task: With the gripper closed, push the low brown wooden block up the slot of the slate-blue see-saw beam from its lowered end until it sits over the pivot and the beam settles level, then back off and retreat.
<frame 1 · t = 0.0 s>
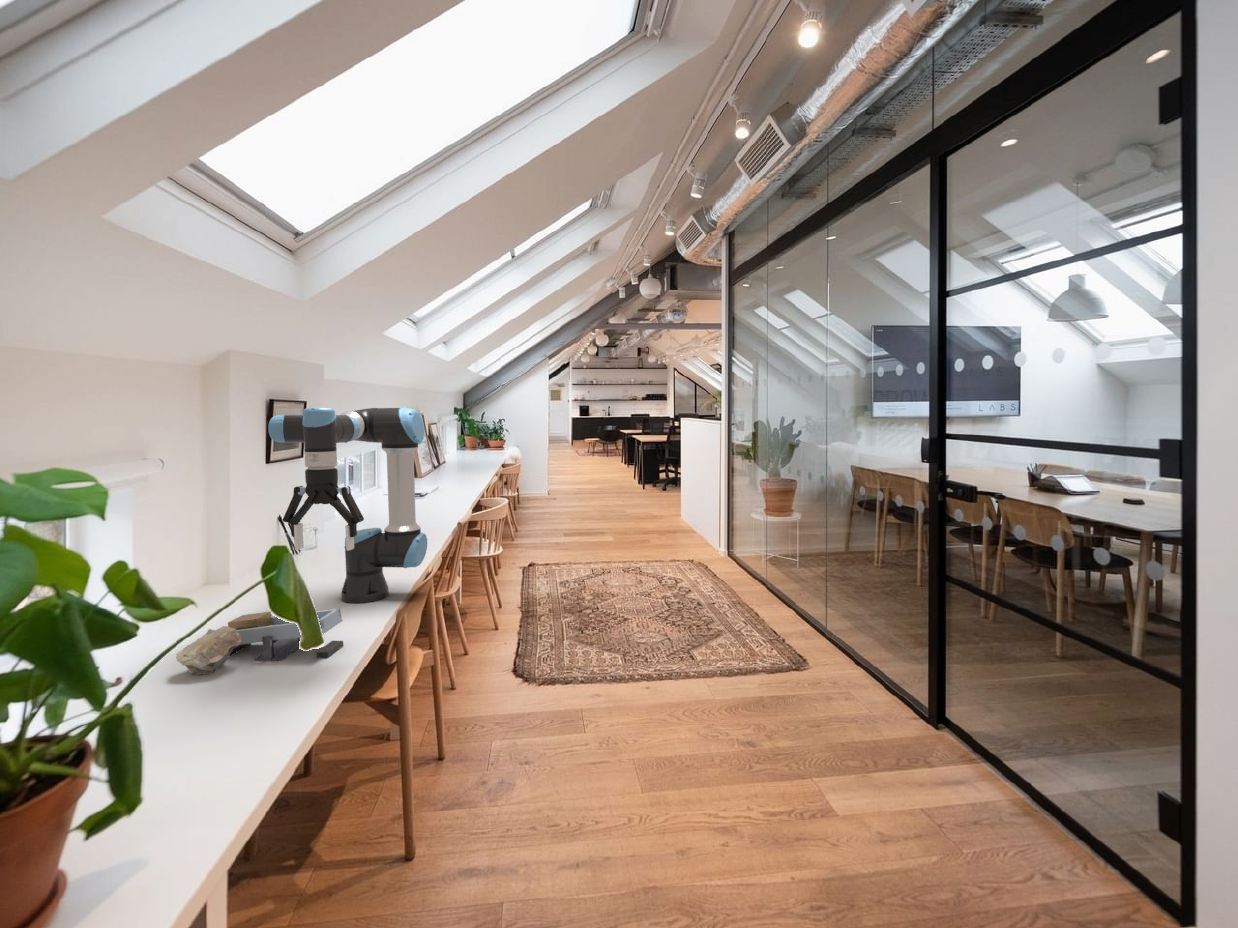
hand: (324, 549, 160), 28 cm above the table, fingers open, 13 cm apart
beam: (281, 626, 164), point 7 cm above the table, hinge at 8.0°, touching brown wooden block
fulcrum: (282, 650, 165), on the table
brown wooden block: (252, 631, 165), point 5 cm above the table, tilted 8°, touching beam
stone: (209, 673, 151), on the table
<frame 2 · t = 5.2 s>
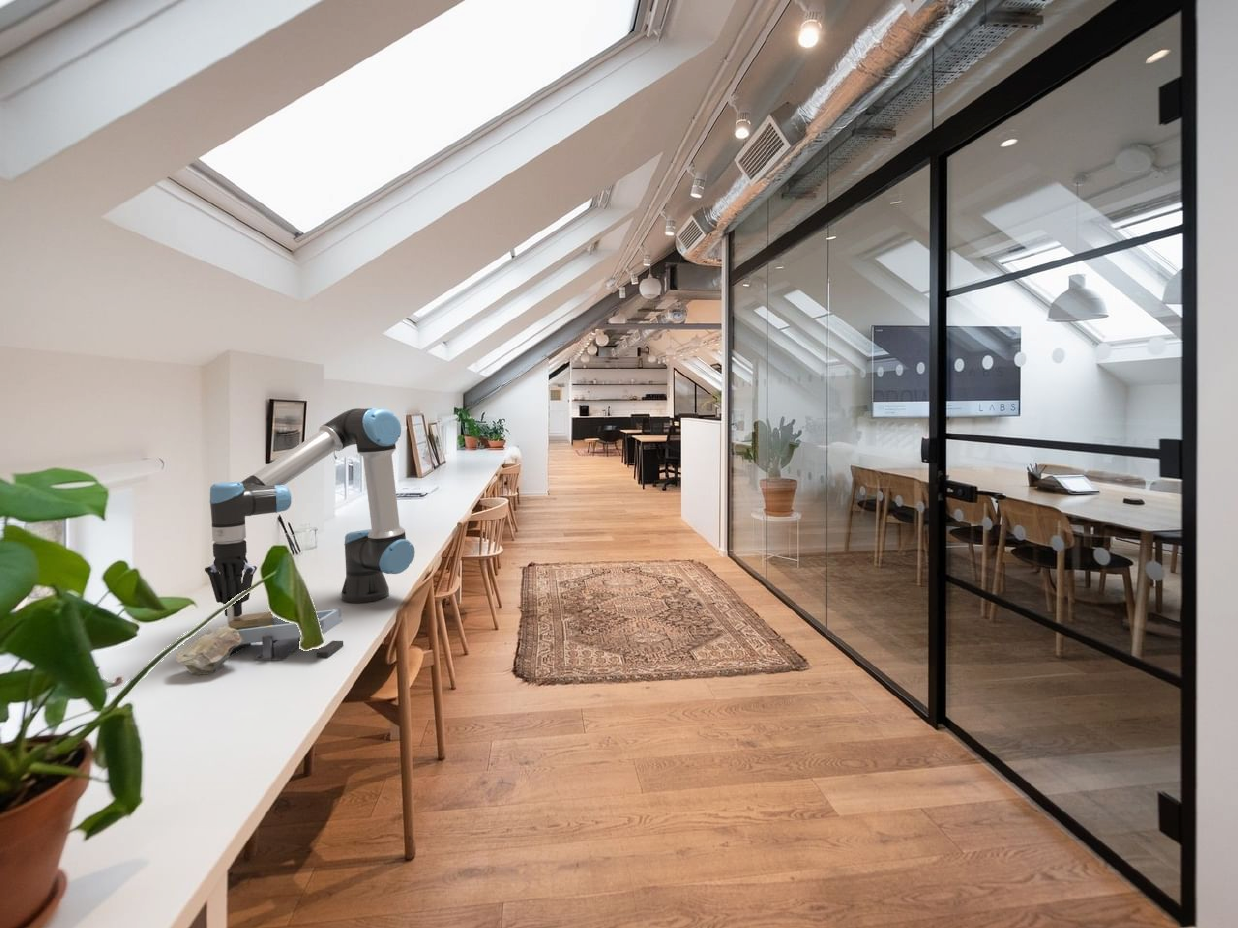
hand: (234, 627, 165), 6 cm above the table, fingers closed
beam: (281, 626, 164), point 7 cm above the table, hinge at 7.8°
brown wooden block: (253, 631, 165), point 5 cm above the table, tilted 8°, touching gripper
everything else where it was.
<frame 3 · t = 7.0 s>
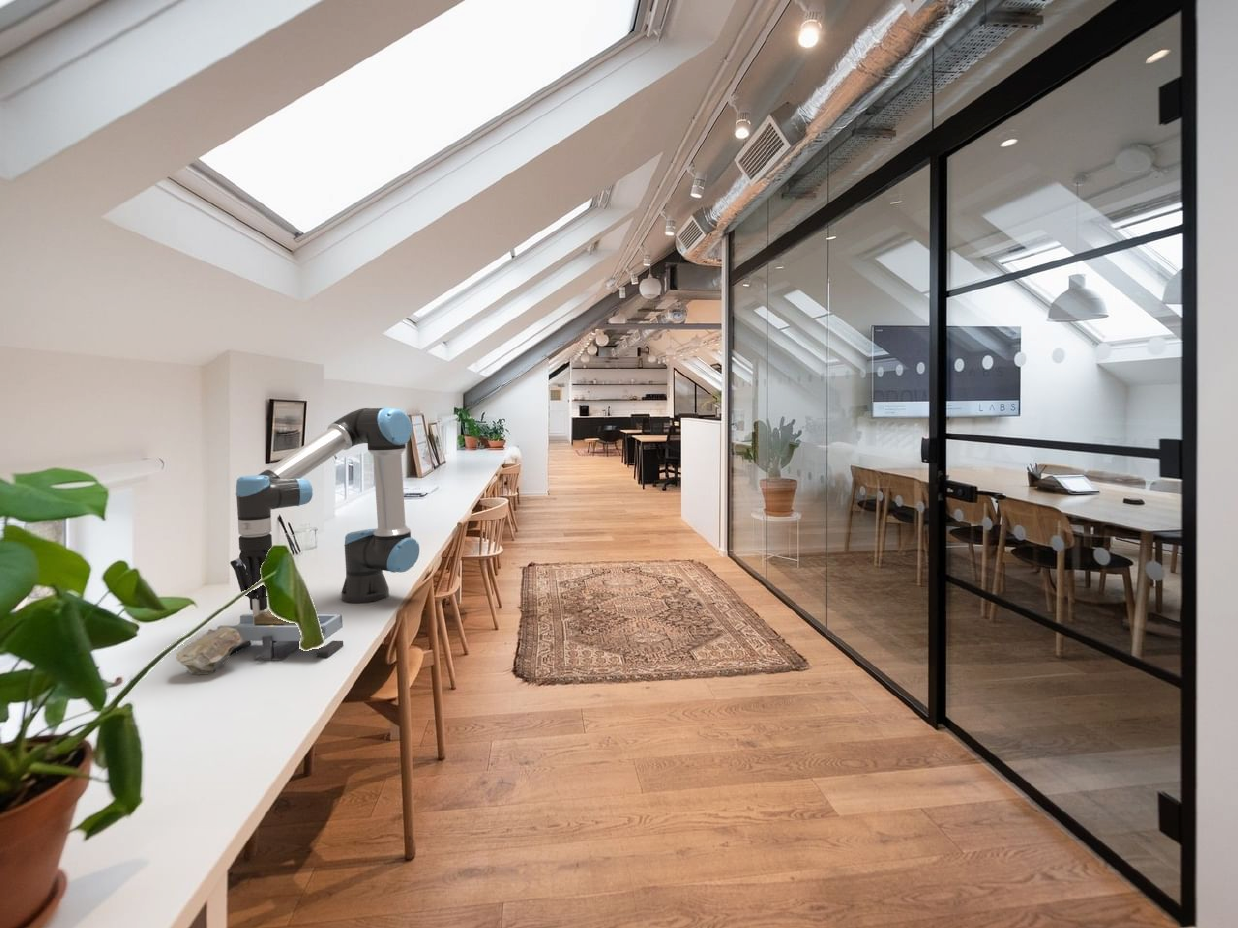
hand: (259, 621, 164), 8 cm above the table, fingers closed
beam: (281, 626, 164), point 7 cm above the table, hinge at 1.0°, touching brown wooden block
brown wooden block: (276, 627, 164), point 6 cm above the table, touching beam, gripper
everything else where it was.
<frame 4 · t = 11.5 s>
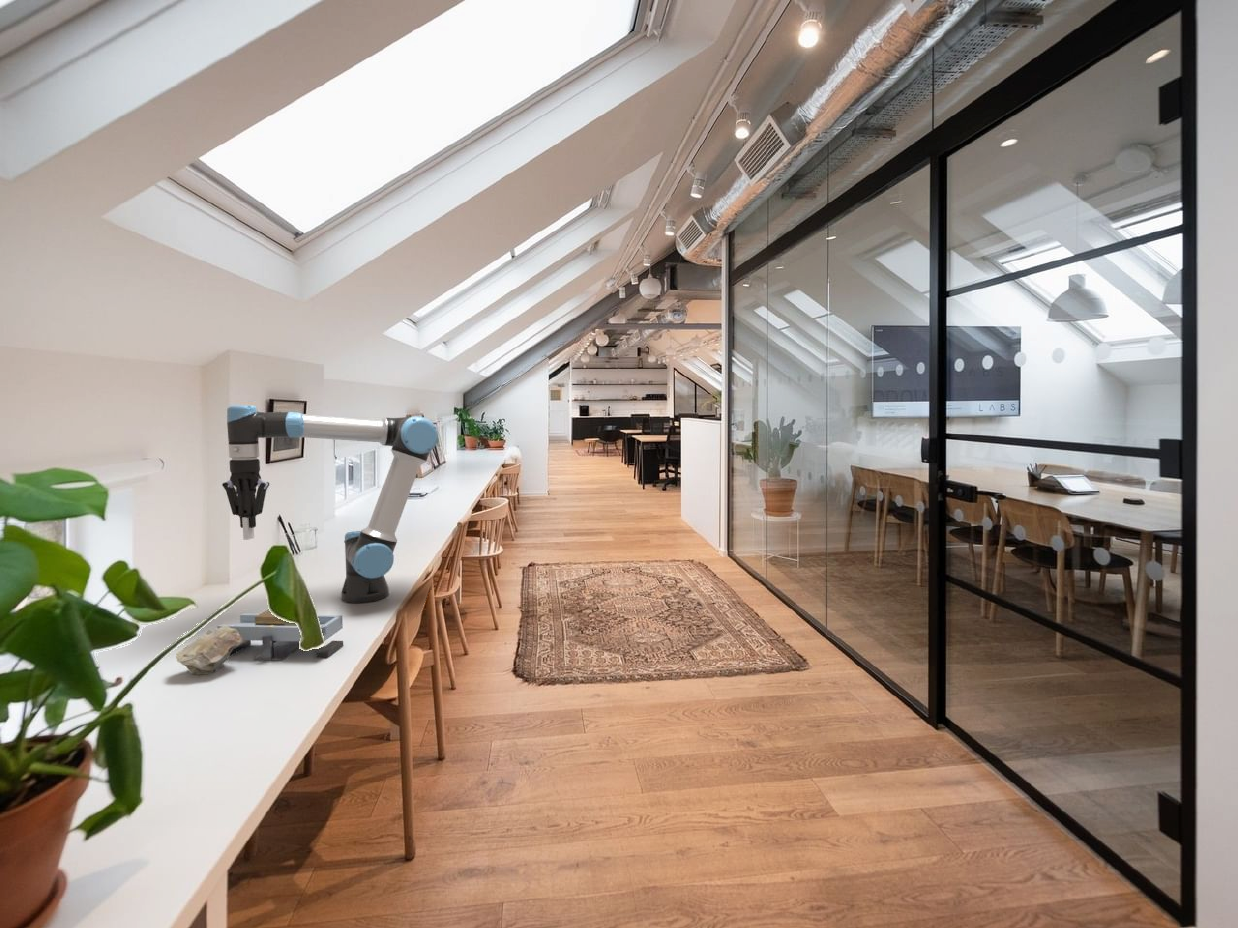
hand: (248, 538, 181), 26 cm above the table, fingers closed
beam: (281, 626, 164), point 7 cm above the table, hinge at -0.1°, touching brown wooden block
brown wooden block: (277, 627, 164), point 6 cm above the table, touching beam
everything else where it was.
at the end: beam at +0° (first picture: +8°); brown wooden block inside the target area on the beam (1.2 cm from its centre), point 0.8 cm above the beam's base; brown wooden block tilted 0° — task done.
